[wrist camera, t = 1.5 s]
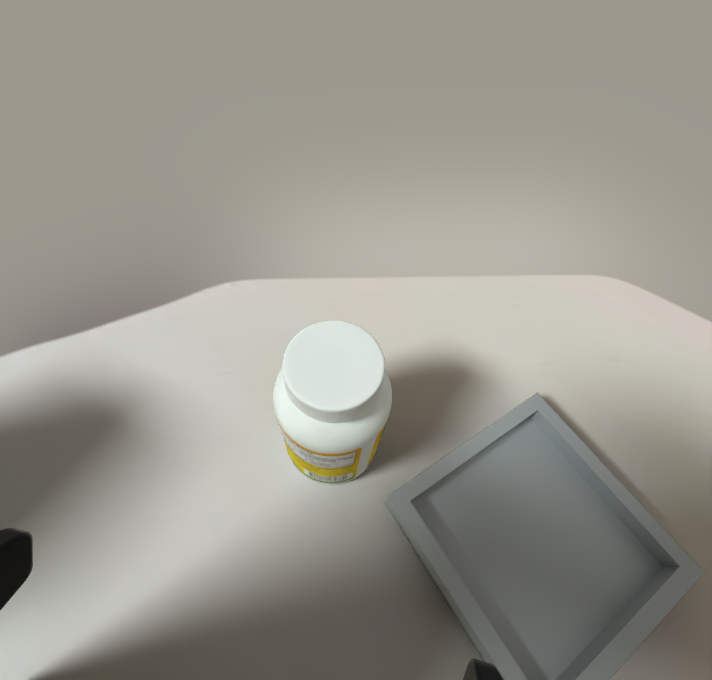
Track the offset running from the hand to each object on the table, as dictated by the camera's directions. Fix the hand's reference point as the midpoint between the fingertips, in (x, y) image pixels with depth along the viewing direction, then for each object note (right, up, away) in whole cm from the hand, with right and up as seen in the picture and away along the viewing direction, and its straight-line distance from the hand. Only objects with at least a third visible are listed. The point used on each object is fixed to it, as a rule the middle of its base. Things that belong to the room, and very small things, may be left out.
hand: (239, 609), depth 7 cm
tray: (+11, -6, +14) cm, 18 cm away
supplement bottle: (+1, -1, +16) cm, 16 cm away
